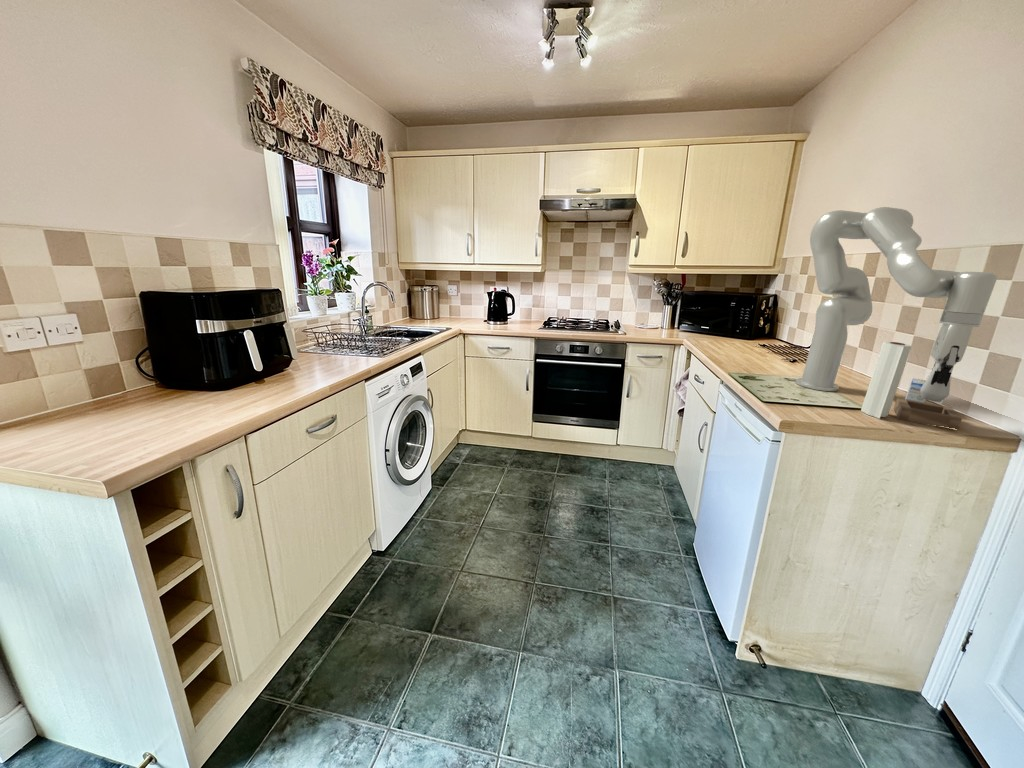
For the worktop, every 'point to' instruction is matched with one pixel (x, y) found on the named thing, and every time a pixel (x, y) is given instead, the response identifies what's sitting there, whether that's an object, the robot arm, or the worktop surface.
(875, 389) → the paper towel roll
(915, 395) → the medicine box
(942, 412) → the holder
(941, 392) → the salt shaker
